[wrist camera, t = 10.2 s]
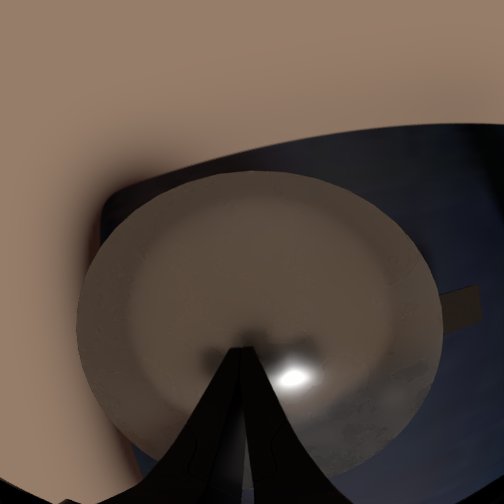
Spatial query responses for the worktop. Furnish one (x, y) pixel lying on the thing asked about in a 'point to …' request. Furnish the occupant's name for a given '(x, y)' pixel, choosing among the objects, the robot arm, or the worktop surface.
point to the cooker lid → (262, 312)
